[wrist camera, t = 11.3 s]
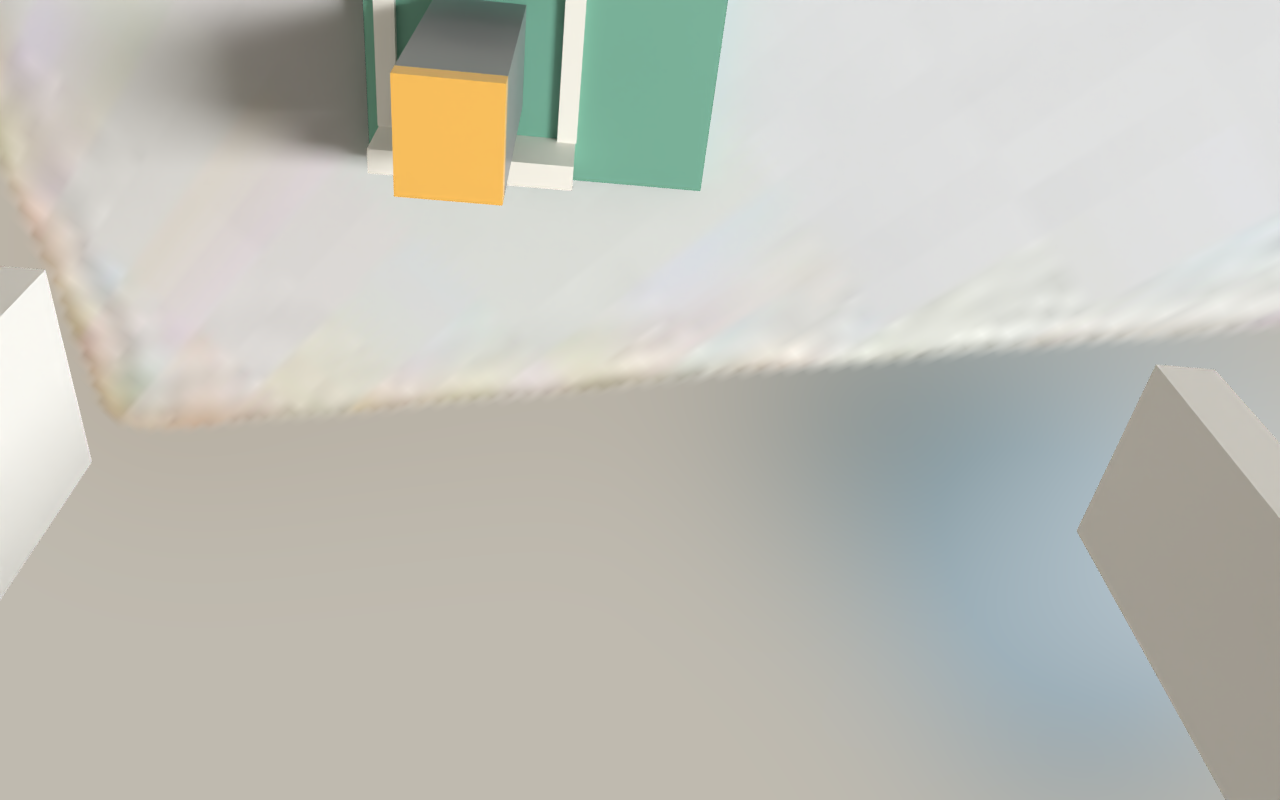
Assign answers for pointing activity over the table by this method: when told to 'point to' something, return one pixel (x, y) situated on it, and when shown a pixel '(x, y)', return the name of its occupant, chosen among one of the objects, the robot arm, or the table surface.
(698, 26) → the board
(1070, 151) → the table surface
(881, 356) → the table surface
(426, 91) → the plug
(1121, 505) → the robot arm
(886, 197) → the table surface
